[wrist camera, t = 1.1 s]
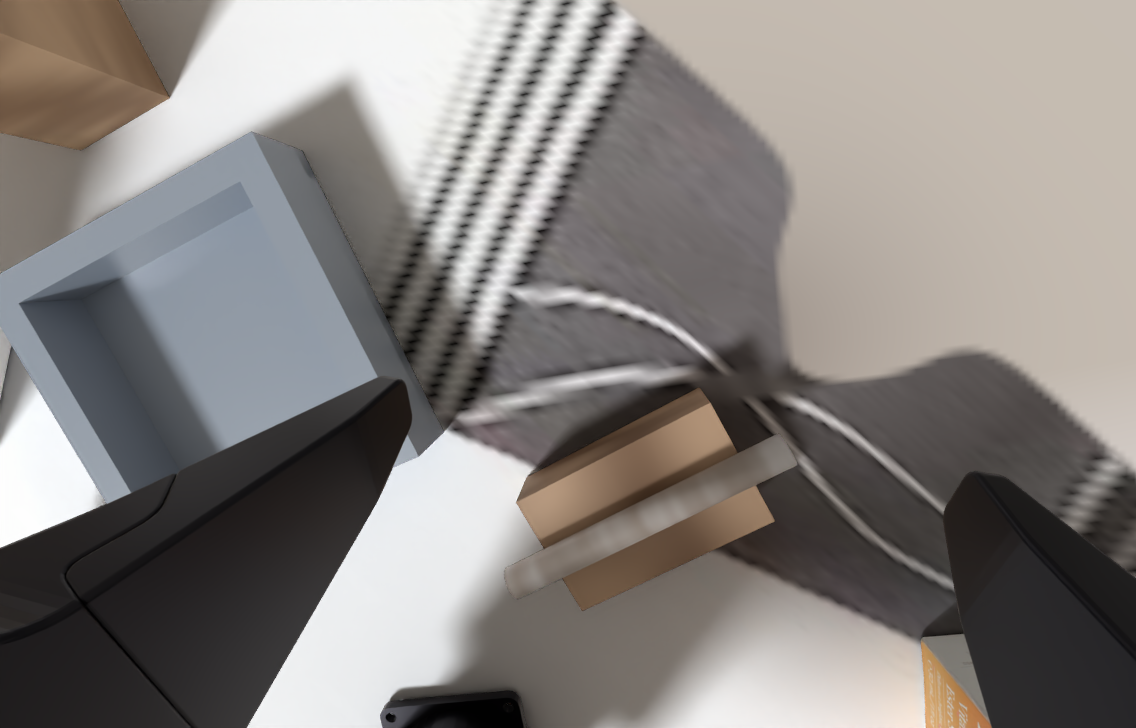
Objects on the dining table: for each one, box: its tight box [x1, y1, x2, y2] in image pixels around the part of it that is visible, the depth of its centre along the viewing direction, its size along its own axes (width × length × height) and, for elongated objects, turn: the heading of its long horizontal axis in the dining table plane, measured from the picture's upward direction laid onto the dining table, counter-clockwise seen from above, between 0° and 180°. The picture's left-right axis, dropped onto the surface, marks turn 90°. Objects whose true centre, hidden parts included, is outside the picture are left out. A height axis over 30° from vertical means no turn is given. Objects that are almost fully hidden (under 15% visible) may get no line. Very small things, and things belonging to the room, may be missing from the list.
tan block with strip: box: [504, 388, 797, 611], centre depth 21 cm, size 11×5×4 cm, turn 120°
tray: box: [0, 132, 444, 504], centre depth 21 cm, size 12×12×3 cm
